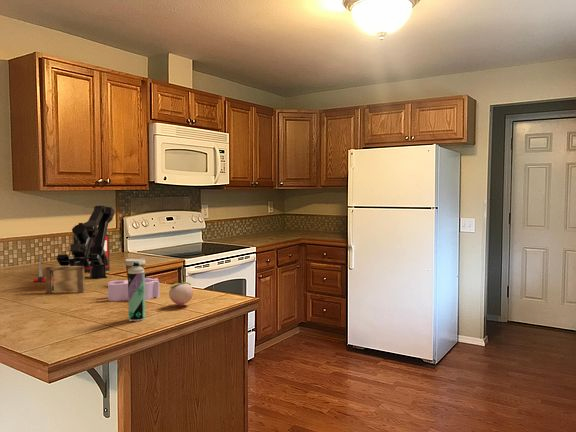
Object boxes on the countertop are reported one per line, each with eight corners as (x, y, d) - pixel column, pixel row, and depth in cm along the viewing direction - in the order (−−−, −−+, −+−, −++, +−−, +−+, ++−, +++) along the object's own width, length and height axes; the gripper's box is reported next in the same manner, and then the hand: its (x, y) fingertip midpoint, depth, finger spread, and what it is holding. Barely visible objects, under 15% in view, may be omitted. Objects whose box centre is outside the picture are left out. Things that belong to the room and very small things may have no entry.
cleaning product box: (109, 270, 259) (108, 234, 258) (97, 272, 251) (96, 235, 250) (86, 268, 265) (85, 233, 264) (74, 270, 257) (73, 234, 256)
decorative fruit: (181, 310, 174) (180, 283, 173) (165, 307, 178) (165, 281, 178) (198, 304, 182) (198, 279, 181) (183, 302, 186) (182, 277, 186)
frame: (45, 293, 202) (44, 267, 201) (47, 292, 204) (47, 266, 203) (83, 292, 202) (82, 266, 202) (84, 291, 204) (84, 266, 204)
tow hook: (44, 279, 235) (31, 282, 226) (44, 253, 235) (31, 255, 226) (59, 279, 234) (47, 282, 225) (59, 254, 234) (47, 256, 225)
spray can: (130, 317, 164) (129, 261, 163) (146, 317, 164) (145, 260, 163) (126, 321, 159) (125, 263, 157) (143, 321, 159) (142, 263, 158)
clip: (107, 303, 185) (107, 286, 185) (108, 296, 197) (108, 280, 196) (159, 299, 192) (159, 282, 191) (157, 293, 203) (157, 277, 203)
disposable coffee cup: (150, 283, 222) (149, 258, 221) (136, 287, 213) (135, 261, 213) (134, 282, 226) (134, 257, 225) (120, 285, 217) (119, 260, 217)
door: (51, 291, 202) (51, 270, 202) (53, 290, 204) (53, 269, 204) (77, 291, 203) (77, 269, 202) (79, 290, 205) (79, 268, 205)
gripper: (57, 236, 212) (46, 265, 202) (99, 236, 213) (90, 265, 203) (65, 251, 220) (55, 279, 210) (105, 251, 221) (97, 279, 211)
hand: (74, 275), depth 208 cm, fingers closed
